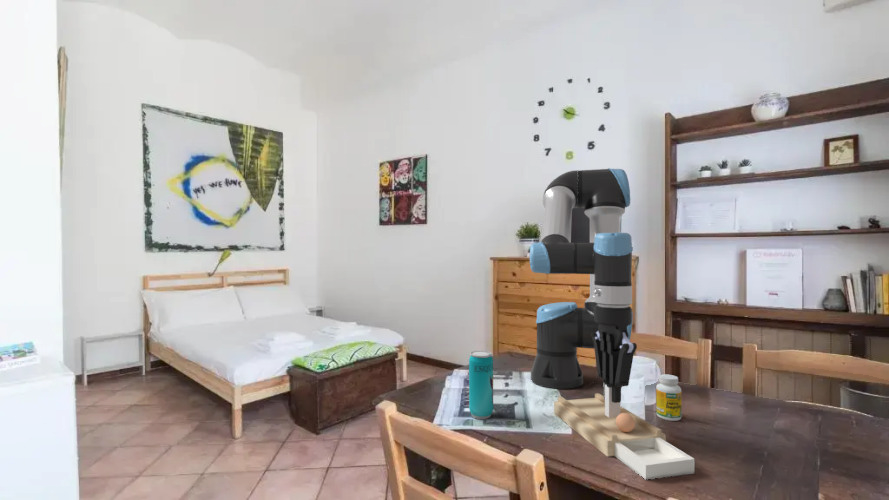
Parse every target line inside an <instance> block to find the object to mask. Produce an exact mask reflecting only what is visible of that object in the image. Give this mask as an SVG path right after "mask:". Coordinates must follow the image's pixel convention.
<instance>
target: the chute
mask: <svg viewBox="0 0 889 500" xmlns="http://www.w3.org/2000/svg"><path fill="white" fill-rule="evenodd" d="M604 397H605V395H602V394H600V393H598V392H595V393H594V397H589V398H588V397H587V398H586V397H585V398H577V399H576V398H575V399H566V398H564V397H563V396H557V400H554V401H553V403H554V404H553V414H554V415H555V416H556V417H557V418H559V419H560V420H561V419H562V420H561V421H562V422H564V423H565V422H566V423H567V424H566V423H565V424H566V425H567V426H569V427H570V428H571V429H573V431H575V432H576V433H577V434H579V435H580V436H581V437H582V438H584V439H585V440H586V441H587V442H588V443H589V444H591V445H592V446H593V447H595V448H596V449H597V450H599V452H601V453H602V454H604V456H606V457H615V456H614V443H615V442H620V443H621V442H623V443H624V441H629V442H628V443H627V445H628V444H629V443H630V444H631V442H630V441H632V440H636V444H637V443H639V442H637V440H639V441H640V440H642V439H643V440H648V441H649V440H655V439H653V438H657V437H660V438H661V439H663V440H664V441H666V442H667V439H666V438H667V437H666V436H667V435H666V433H664V432H663V431H662V429H660V428H659V427H657V426H655V425H654V424H652V423H650V422H648V421H647V420H645V419H643V418H642V417H640V416H638V415H636V414H635V413H633V412H632V411H630V410H628V409H626V408H625V407H623V406H621V405H620V414H621V413H627V414H629V415H631V416H632V417H633V419H634V421H635V427H634V429H633V430H632V431H630V432H623V431H621V430H620V429H619V428H618V427H617V425H616V418H617V417H607V416H606V415H605V400H604ZM648 438H650V439H648ZM651 438H652V439H651ZM648 441H646V442H648ZM646 442H645V441H644V442H643V443H645V444H647V443H646ZM650 442H651V441H650ZM652 442H653V441H652ZM623 443H621V444H623ZM632 443H634V441H633V442H632ZM625 444H626V442H625ZM630 444H629V445H628V446H630ZM634 444H635V443H634ZM634 444H632V446H633V445H634ZM641 444H642V443H640V444H639V445H641ZM649 444H650V443H649ZM649 444H648V445H649ZM653 445H654V444H653ZM628 446H627V447H628ZM635 446H636V445H635ZM644 446H645V448H646V446H647V445H644ZM644 446H643V448H644ZM654 446H655V445H654ZM633 447H634V446H633ZM636 447H637V448H639V447H638V444H637V446H636ZM636 447H635V448H636ZM640 447H641V446H640ZM628 448H629V449H630V447H628ZM631 448H632V447H631ZM639 449H640V450H642V448H639ZM639 449H637V450H638V451H639ZM648 449H654V448H648ZM630 450H631V451H632V450H633V451H634V450H635V449H630ZM637 450H635V451H637ZM643 450H644V449H643Z"/></svg>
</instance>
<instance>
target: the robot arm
mask: <svg viewBox="0 0 889 500" xmlns="http://www.w3.org/2000/svg"><path fill="white" fill-rule="evenodd" d="M630 188H631V187H630V183H629V179H628V175H627V172H626V171H625V170H624V169H622V168H610V167H608V168H601V169H599V168H598V169H597V168H596V169H584V170H583V169H582V170H569V171H566V172H564V173H562V174H560V175H558V176H557V177H556V178H554V179H552V181H551V182H550V183H549V184H548V185H547V187H546V188H545V190H544V192H543V196H542V205H543V206H544V213H543V221H542V229H541V233H540V234H541V237H540V241H539V242H533V243H532V244H531V245H530V247H529V265H530V266H529V267H530V270H531V272H533V273H535V274H537V273H538V274H545V275H550V274H554V275H555V274H557V275H558V274H559V275H560V274H561V275H562V274H563V275H565V274H567V275H568V274H569V275H570V274H572V275H573V274H575V275H589V297H588V298H586V300H585V301H584V307H578V305H577V303H576V302H573V301H562V302H554V303H547V304H544V305H540V306H539V307H538V308H537V310H536V320H535V324H536V355H535V358H534V361H533V363H532V364H533V365H532V367H531V371H530V381H531V380H532V381H533V382H532V381H531V382H532V383H534V384H535V383H536V384H535V385H537V384H539V386H540V385H542V386H541V387H544V386H545V387H544V388H549V387H551V388H550V389H560V390H562V389H563V390H564V389H566V390H567V389H568V390H569V389H575V388H578V387H581V386H582V385H583V384H584V375H583V371H582V369H581V365H580V362H579V359H578V356H577V355H578V352H577V349H578V348H581V349H594V355H595V364H596V371H597V377H598V378H599V379H601V381H602V383H603V384H604V390H603V391H604V395H603V396H604V397H605V415H606V416H607V417H617V416H618V415H619V414H620V406H621V402H622V388H623V387H629V385H630V384H629V383H630V377H631V372H632V366H633V360H634V356H635V355H634V354H635V352H636V351H637V348H638V345H637V343H635V342H631V341H630V340H631V335H632V330H633V329H632V327H633V321H634V320H633V315H634V314H633V313H634V312H633V308H632V307H631V306H630V305H631V304H633V285H632V283H633V282H632V273H633V270H632V265H633V261H632V260H633V258H632V257H633V248H634V247H633V244H632V242H633V241H632V240H633V239H632V236H631V234H630V233H628V232H621V223H620V222H621V221H620V220H621V217H622V216H623V215H624V214H625V213H626V208H628V207H630V205H631V189H630ZM573 209H584V212H583V213H584V215H585V216H586V217H587V218H588V219H589V242H571V241H572V219H573V218H572V213H573Z"/></svg>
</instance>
